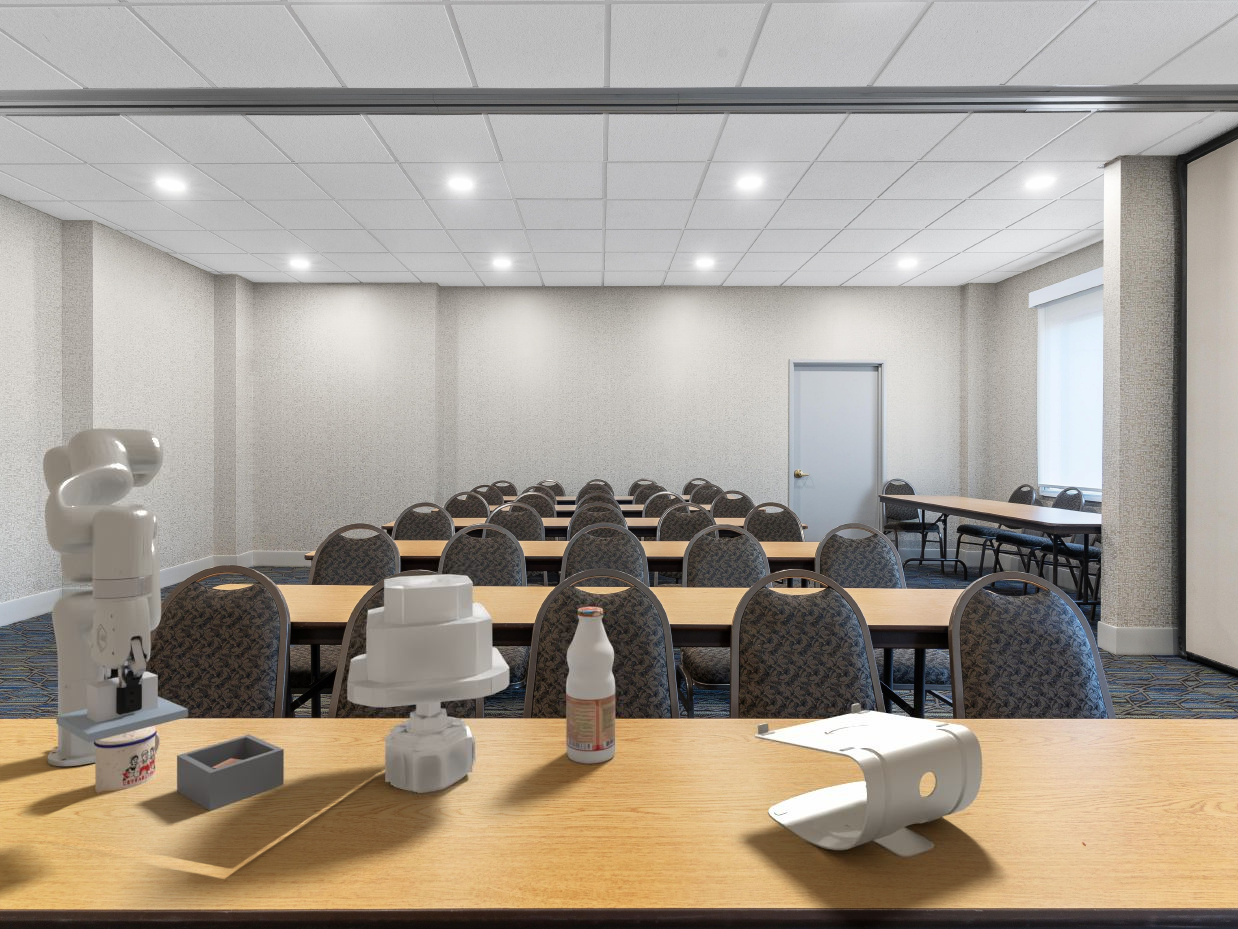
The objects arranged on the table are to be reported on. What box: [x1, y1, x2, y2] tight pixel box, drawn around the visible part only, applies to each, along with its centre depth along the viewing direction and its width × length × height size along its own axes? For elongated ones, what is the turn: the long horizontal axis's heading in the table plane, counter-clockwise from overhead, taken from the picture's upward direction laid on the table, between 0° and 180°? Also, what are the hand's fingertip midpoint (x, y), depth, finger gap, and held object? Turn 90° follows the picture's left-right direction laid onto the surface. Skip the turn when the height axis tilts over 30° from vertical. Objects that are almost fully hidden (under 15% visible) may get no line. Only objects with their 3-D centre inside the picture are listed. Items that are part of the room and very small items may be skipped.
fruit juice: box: [565, 606, 616, 764], centre depth 139 cm, size 9×9×28 cm
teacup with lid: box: [94, 726, 161, 794], centre depth 128 cm, size 12×9×12 cm
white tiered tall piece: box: [346, 573, 510, 794], centre depth 129 cm, size 27×27×35 cm
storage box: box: [176, 734, 285, 812], centre depth 123 cm, size 12×12×7 cm
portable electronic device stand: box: [754, 703, 983, 858], centre depth 112 cm, size 26×24×16 cm
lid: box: [55, 671, 189, 742], centre depth 110 cm, size 13×13×6 cm
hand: (123, 707), depth 110 cm, fingers closed on lid, 4 cm apart
